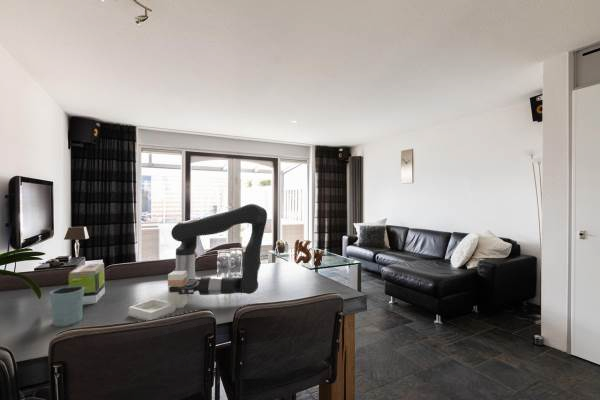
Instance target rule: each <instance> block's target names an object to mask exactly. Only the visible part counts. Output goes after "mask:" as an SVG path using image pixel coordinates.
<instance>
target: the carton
mask: <svg viewBox="0 0 600 400" xmlns="http://www.w3.org/2000/svg"><path fill="white" fill-rule="evenodd" d="M167 277H168V278H167V296H168V297H167V302H172V303H175V309H177V308H184V307H185V306H186V304H187V303H188V294H179V292H169V288H170V287H179V286H184V285H185V284H187V271H174V270H172V272H170V273H168V274H167ZM182 291H183V290H182Z"/></svg>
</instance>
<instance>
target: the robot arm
mask: <svg viewBox="0 0 600 400" xmlns="http://www.w3.org/2000/svg"><path fill="white" fill-rule="evenodd" d="M267 219H268V213H267V210H266V209H265V208H264V207H262V206H260V205H258V204H255V203H250V204H246V205H244V206H240V207H237V208H235V209H232V210H228V211H224V212H219V213H215V214H211V215H209V216H205V217H203V218H200V219H197V220H194V221H190V222H182V223H178V224H176V225H174V226H173V227H172V229H171V231H170V232H171V233H170V234H171V237H172V239H174V240H175V241H176V242H181V244H180V245H179V246H178V247H177V248H176V249H175V268H174V270H173V271H187V284H185V285H184V286H179V287H170V288H169V292H179V294H187V295H193V294H195V293H196V292H198V294H199V296H216V295H232V294H247V295H251V294H254V293H255V292H256V291H257V290H258V289H259V281H258V277H259V269H260V260H261V259H260V258H261V248H262V243H263V238H264V233H265V229H266V224H267ZM241 224H248V225H249V224H250V225H251V234H250V237H249V241H248V242H247V245H246V248H245V250H244V254H243V256H244V257H243V266H242V267H243V269H242V275H241V277H231V276H230V277H229V276H227V277H224V276H223V277H221V276H202V277H201V278H196V249H197V244H198V243H197V242H198V237H201V236H202V237H203V236H210V235H217V234H220V233H224V232H227V231H228V230H230V229H231V228H232V227H234V226H236V225H241ZM182 290H183V291H182Z"/></svg>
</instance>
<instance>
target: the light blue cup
mask: <svg viewBox="0 0 600 400" xmlns="http://www.w3.org/2000/svg"><path fill="white" fill-rule="evenodd" d="M83 295H84V287H83V286H70V287H69V286H65V287H64V286H63V287H59V288H56V289H53V290H51V291H49V296H50V297H49V298H50V304H51V314H52V324H53V325H52V326H54V327H66V326H67V327H68V326H71V324H72V325H75V324H77V323H79V322H80V321H82V319H83V307H84V305H83Z"/></svg>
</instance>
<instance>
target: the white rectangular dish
mask: <svg viewBox="0 0 600 400" xmlns="http://www.w3.org/2000/svg"><path fill="white" fill-rule="evenodd" d="M174 313H176V308H175V303H172V302H168V300H162V299H157V298H151V299H148V300H146V301H142V302H140V303H136V304H133V305H131V306H129V307H128V316H129V317H131V318H135V319H139V320H141V319H143V320H142V321H145V320H150V319H155V318H160V317H162V318H164V317H167V316H169V315H171V314H174ZM160 319H161V318H160Z"/></svg>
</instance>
